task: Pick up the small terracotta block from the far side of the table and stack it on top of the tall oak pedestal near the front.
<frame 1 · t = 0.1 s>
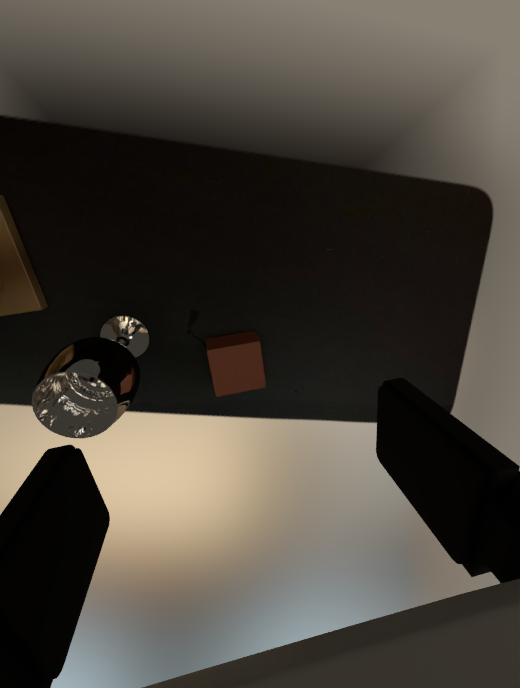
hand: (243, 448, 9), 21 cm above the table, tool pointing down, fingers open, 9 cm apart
wineglass: (125, 336, 29), on the table
block: (234, 356, 31), on the table
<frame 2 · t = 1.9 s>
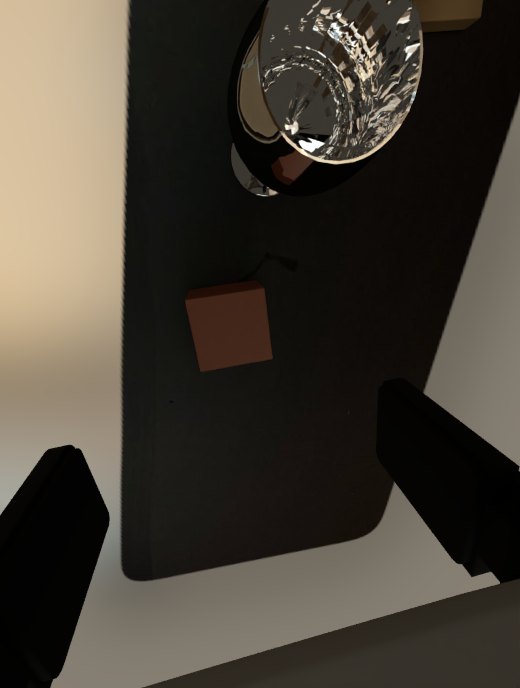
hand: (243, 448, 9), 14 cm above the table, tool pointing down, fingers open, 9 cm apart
wineglass: (265, 158, 19), on the table
block: (228, 317, 23), on the table
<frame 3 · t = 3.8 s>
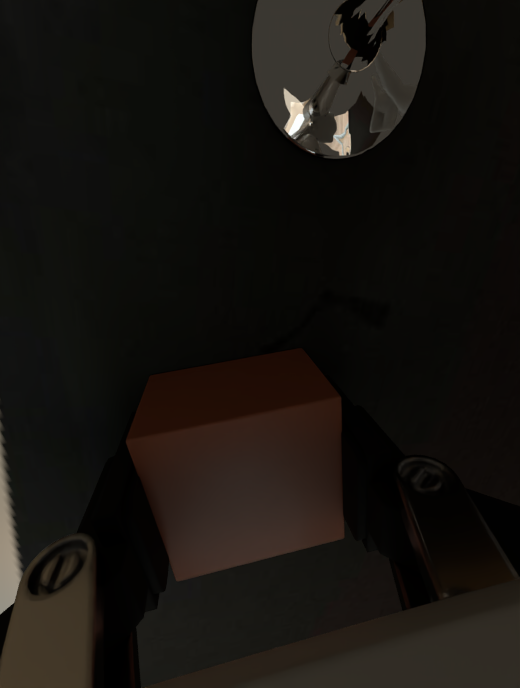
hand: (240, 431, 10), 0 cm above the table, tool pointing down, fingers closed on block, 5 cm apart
wineglass: (337, 59, 7), on the table
block: (239, 423, 11), on the table, touching gripper
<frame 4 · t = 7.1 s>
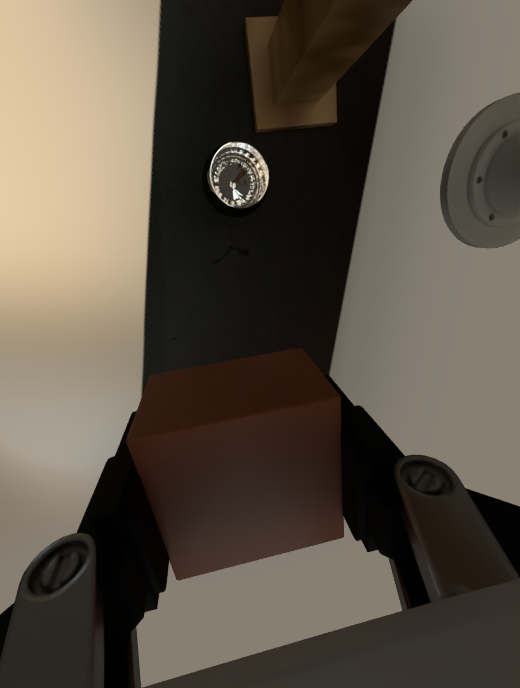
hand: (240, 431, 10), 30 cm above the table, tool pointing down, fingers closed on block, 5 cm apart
pedestal: (291, 78, 32), on the table
wineglass: (227, 193, 35), on the table
block: (239, 423, 11), point 30 cm above the table, touching gripper
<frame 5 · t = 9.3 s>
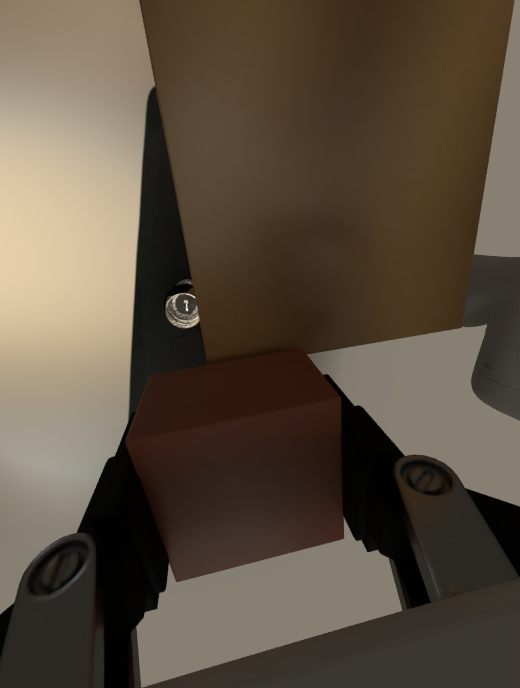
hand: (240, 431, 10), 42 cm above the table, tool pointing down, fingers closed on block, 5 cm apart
pedestal: (230, 222, 47), on the table
wineglass: (188, 292, 50), on the table
block: (238, 423, 11), point 42 cm above the table, touching gripper
when the fingers open (41 cm above the table, at t = 10.7 s): block stays where it is, resting on pedestal.
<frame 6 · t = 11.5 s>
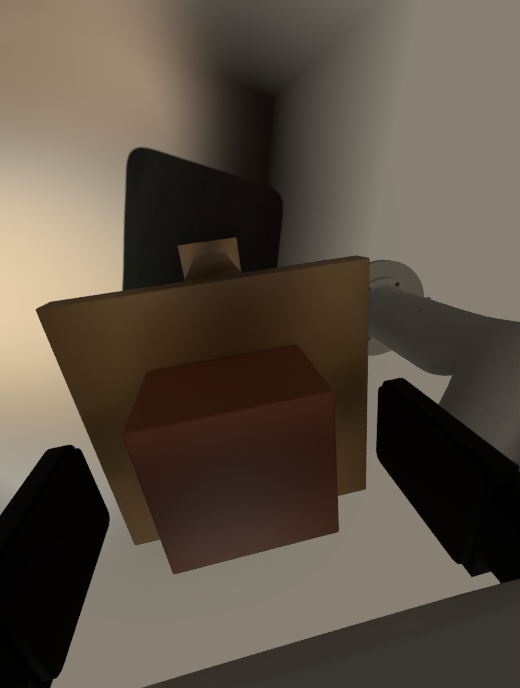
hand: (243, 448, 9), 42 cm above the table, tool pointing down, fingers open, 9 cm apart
pedestal: (212, 270, 48), on the table
block: (235, 419, 11), point 41 cm above the table, touching pedestal
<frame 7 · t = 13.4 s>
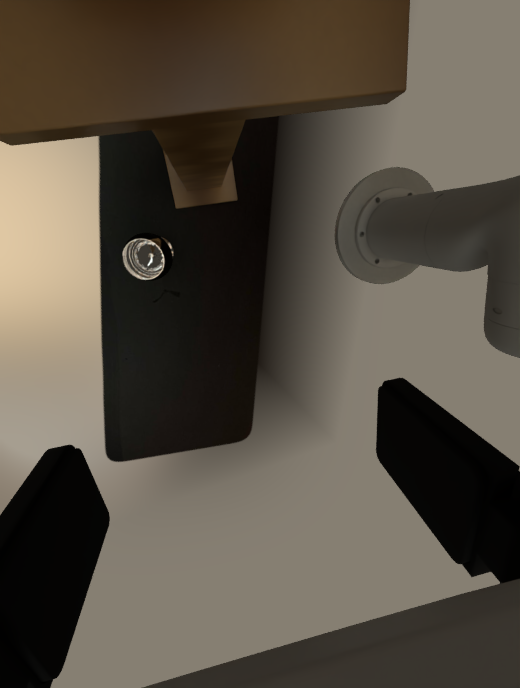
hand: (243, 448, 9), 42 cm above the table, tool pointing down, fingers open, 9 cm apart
pedestal: (200, 170, 43), on the table
wineglass: (159, 251, 46), on the table
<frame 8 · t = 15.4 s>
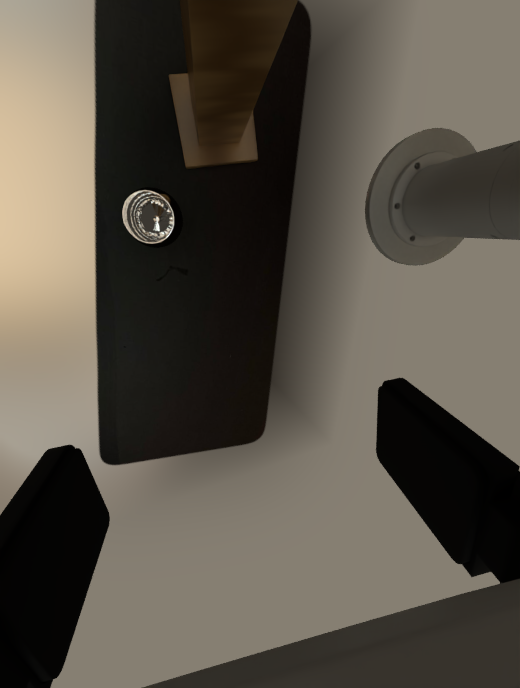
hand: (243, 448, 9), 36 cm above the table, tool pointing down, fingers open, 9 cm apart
pedestal: (215, 122, 36), on the table
wineglass: (164, 220, 39), on the table
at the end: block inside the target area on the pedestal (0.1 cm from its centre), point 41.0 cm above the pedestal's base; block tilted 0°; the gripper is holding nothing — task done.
